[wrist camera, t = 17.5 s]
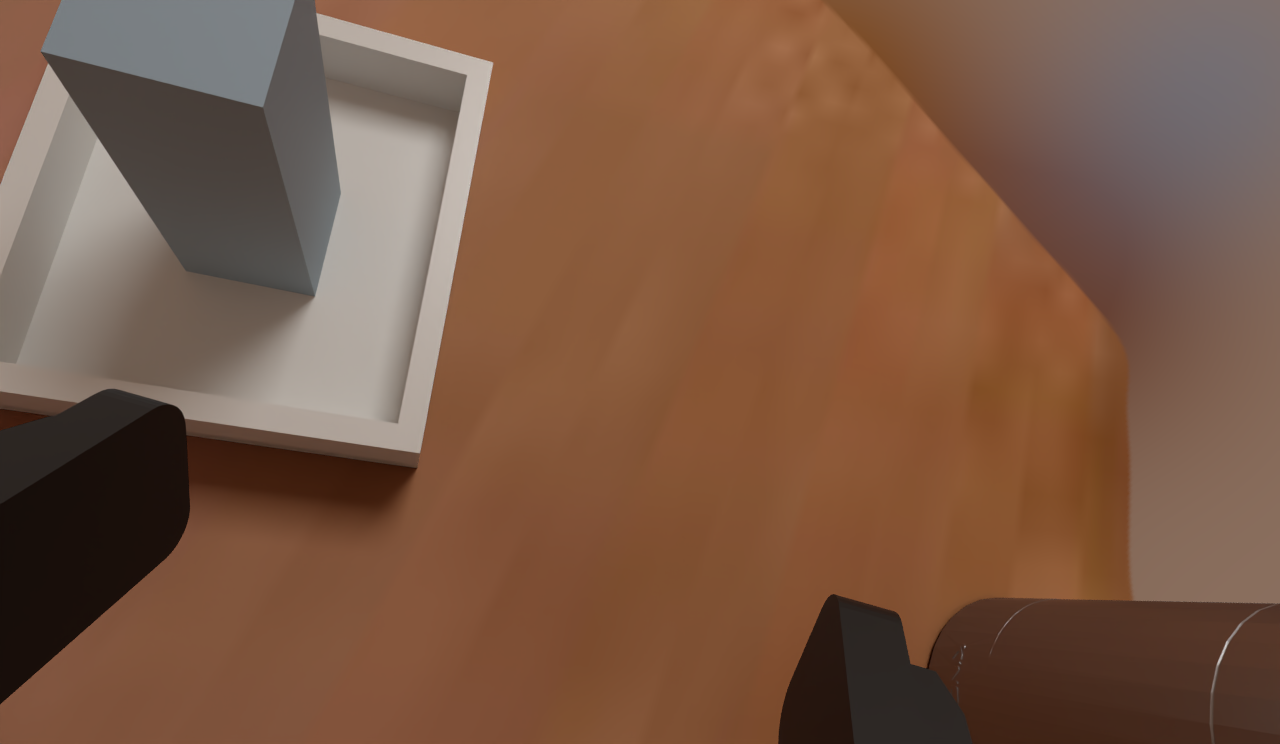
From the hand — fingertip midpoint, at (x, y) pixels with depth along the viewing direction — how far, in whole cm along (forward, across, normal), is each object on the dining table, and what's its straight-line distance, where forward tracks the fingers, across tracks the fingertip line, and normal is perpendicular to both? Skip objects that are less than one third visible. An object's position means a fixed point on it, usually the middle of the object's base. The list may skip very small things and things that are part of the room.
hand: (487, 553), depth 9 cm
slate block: (+22, +17, +6) cm, 29 cm away
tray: (+23, +17, +7) cm, 29 cm away
